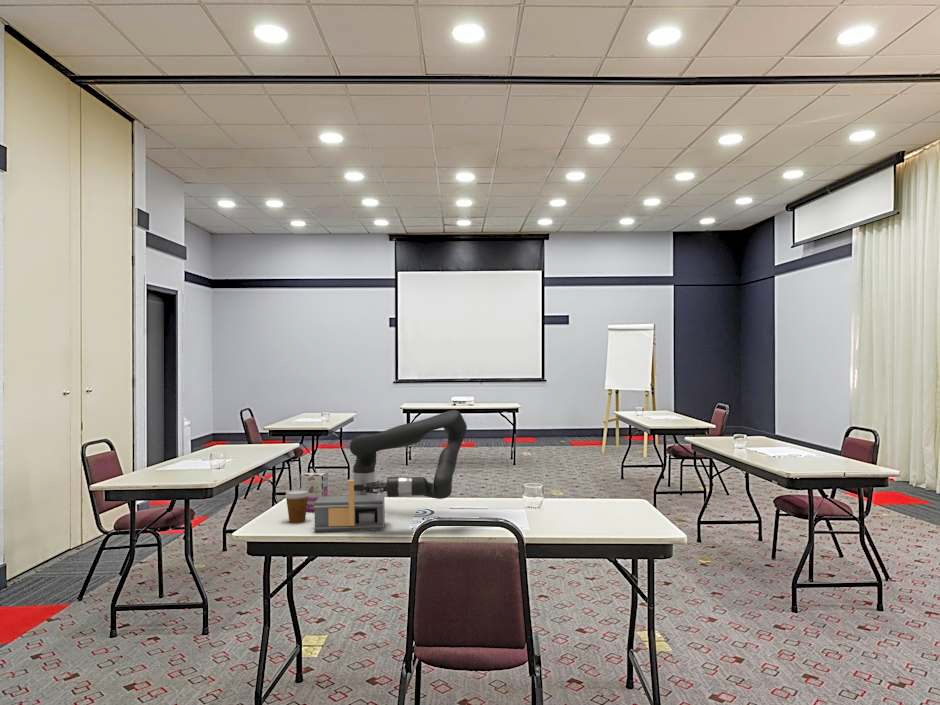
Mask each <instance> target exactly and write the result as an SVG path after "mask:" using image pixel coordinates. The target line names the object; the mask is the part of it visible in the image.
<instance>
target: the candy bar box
mask: <svg viewBox="0 0 940 705" xmlns="http://www.w3.org/2000/svg"><path fill="white" fill-rule="evenodd" d="M328 474H329V473H324V472H304V473H301V474H299V475H300V490H307V491H308V494H309V495H308V500H307V509H306V513H314V503H315V502H316V500H317V499H318V498H319V497H323V496H329V481H328V480H329V478H328V477H329V475H328Z"/></svg>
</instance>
